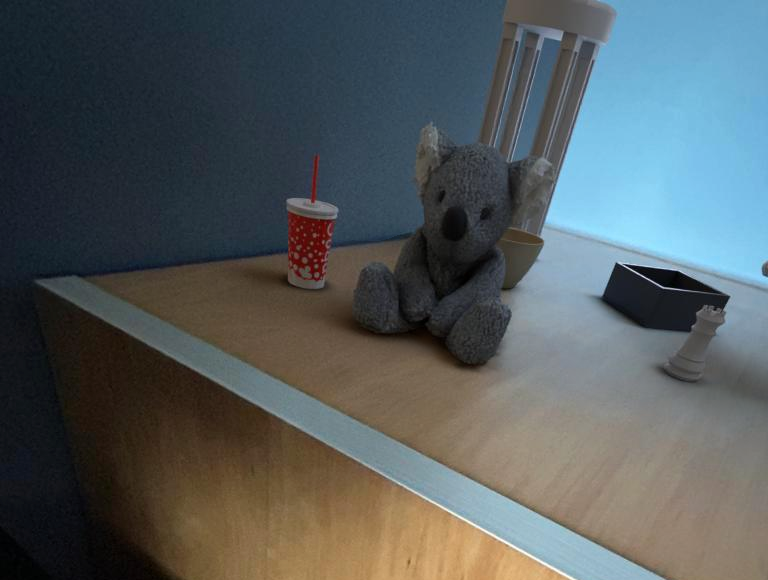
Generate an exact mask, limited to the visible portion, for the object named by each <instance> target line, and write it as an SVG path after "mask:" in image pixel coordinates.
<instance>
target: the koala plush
mask: <svg viewBox="0 0 768 580" xmlns="http://www.w3.org/2000/svg"><path fill="white" fill-rule="evenodd" d="M433 124H434V122H433V121H431V122H430V123H429V124H426V126H425V127H422V129H421V131H419V132H420V135H419V141H420V142H418V144H417V146H416V148H415V149H414V152H415V153H416V155H415V161H414V163H415V164H414V166H413V168H412V170H414V177H413V178H412V181H411V183H412V184H415V186H417V189H418V191H417V198H419V200H420V203H421V206H422V207H423V209H422V211H423V217H424V218H423V220H424V221H423V223H422V224H421V226H418V227H417V228H415V229H414V231H412V234H411V235H410V236H409V237H408V238H407V240H406V241H405V243H404V245H403V246H402V248H401V251H400V253H399V255H398V257H397V260H396V263H395V265H394V269H393V272H392V270H390V268H389V267H388V266H387V265H386V263H385V264H384V263H383V264H382V262H380V261H378V262H377V261H372V262H369V263H367V264H366V265H365V266H362V268H361V270H360V272H359V275H358V280H357V284H356V288H355V289H354V290H353V293H354V294H353V298H352V311H353V313H352V314H353V317H354V318H355V320H356V321H357V322H358V323H359V324H360V326H361V327H363V329H365V330H367V331H372V332H373V333H375V334H396V333H397V334H398V333H399V334H401V333H406V332H408V331H413V330H416V329H420V328H422V327H424V326H426V328H427V331H428V332H430V333H431V334H432V335H433V336H435V337H439V338H444V340H445V345H446V347H447V349H448V350H450V352H451V353H452V354H453V356H454V357H455V358H457V359H459V360H460V361H462V362H463V363H464V364H468V365H476V364H479V365H481V364H484V362H487V361H489V360H491V359H492V358H493V357H494V356H495V355H496V353H497V351H498V350H499V349H500V347H501V344H502V340H503V338H504V336H505V334H506V332H507V330H508V326H509V325H510V322H511V319H512V316H513V312H512V310H511V309H512V308H510V307H509V306H510V305H509V304H506V303H504V302H503V301H502V298H501V290H502V289H503V288H502V285H503V282H504V277H505V268H506V265H505V257H504V254H503V253H502V250H500V249H499V248H498V247H497V246H496V245H495V244H496V243H498V241H499V240H500V239H501V238H502V237H503V235H504V234H505V232H506V231H507V229H508V228H509V227H514V226H522V224H524V223H525V222H526V221H527V220H529V219H531V218H532V216H534V215H535V214H538V213H539V212H540V209H541V207H542V206H543V205H544V204H546V203H547V202H546V198H547V197H550V196H551V195H550V193H551V192H550V190H551V188H550V187H551V185H552V184H556V182H555V179H556V177H557V176H556V174H557V171H558V170H556V169H557V168H555V166H553V165H552V164H551V163H550V162H548V161H547V160H545V157H546V156H544V157H543V156H542V157H541V158H539V159H538V158H537V156H531V157H530V156H529V155H528V156H525V157H524V158H522V159H518V160H512V162H511V163H509V164H508V162H507V160H506V159H504V157H503V156H502V154H501V153H500V152H499V151H498V148H496V146H495V147H490V146H489V145H482V143H477V141H476V142H471V143H470V142H468V143H467V144H463V145H460V146H459V145H458V144H457V143H456V140H454V139H453V138H451V137H449V135H448V133H447V131H445V130H444V129H443V128H438V129H437V125H436V126H433Z"/></svg>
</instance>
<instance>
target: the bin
mask: <svg viewBox="0 0 768 580" xmlns="http://www.w3.org/2000/svg"><path fill="white" fill-rule="evenodd" d="M601 299H602V300H604V301H606V302H607V303H608V304H609V305H612V306H613V307H614V308H616V309H617V310H619V311H620V312H621V313H623V314H624V315H626V316H628V317H629V318H631V319H632V320H634V321H635V322H637V323H638V324H639V325H641V326H643V327H644V328H650V329H661V330H671V331H683V332H691V331H692V326H693V325H695V324H696V322H697V317H696V313H697V312H698V311H700V310H702V308H703V306H704V305H707V306H708V307H707V310H708V308H709V306H714V308H713V311H716V310H717V308H720V309H722V311H725V308H726V306H727V304H728V302H729V300H730V299H731V295H729V294H727V293H725V292H723V291H721V290H719V289H717V288H715V287H713V286H711V285H709V284H707V283H705V282H703V281H701V280H700V279H697V278H695V277H693V276H692V275H689V274H687V273H686V272H683V271H681V270H680V269H674V268H666V267H658V266H650V265H644V264H643V265H642V264H636V263H627V262H620V261H616V262H615V263H614V266H613V269H612V271H611V274H610V276H609V279H608V281H607V283H606V286H605V288H604V291H603V294H602V295H601ZM722 311H721V313H722ZM721 313H720V314H721Z"/></svg>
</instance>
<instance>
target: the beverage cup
mask: <svg viewBox="0 0 768 580" xmlns="http://www.w3.org/2000/svg"><path fill="white" fill-rule="evenodd" d="M313 159H314V160H313V172H312V183H311V196H310V199H309V198H304V197H303V198H301V197H291V198H287V199H286V201H285V202H286V204H285V205H286V210H287V211H288V215H287V216H288V217H287V218H288V220H287V221H288V224H287V235H288V236H287V282H288V283H289V284H290V285H293V286H295V287H298V288H301V289H307V290H318V289H323V288H324V287H325V281H326V276H327V269H328V263H329V257H330V251H331V245H332V238H333V234H334V233H333V231H334V226H335V221H336V219H338V213H339V208H338V207H337V206H336V205H333V204H331V203H328V202H325V201H321V200H318V199H317V200H316V195H317V182H318V173H319V172H318V171H319V159H320V155H318V154H314V158H313Z"/></svg>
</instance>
